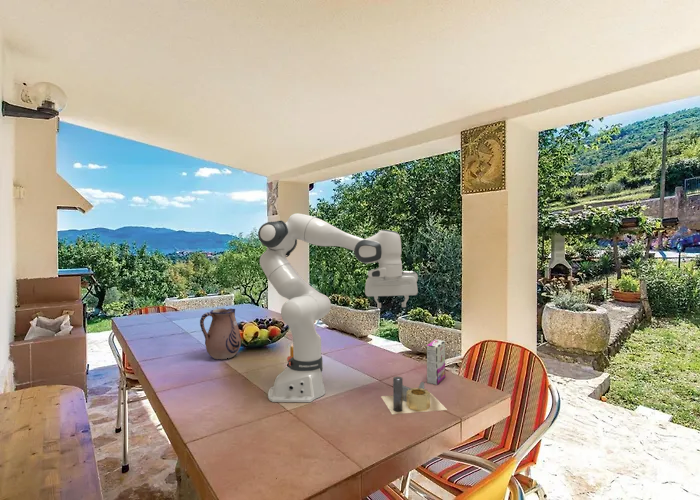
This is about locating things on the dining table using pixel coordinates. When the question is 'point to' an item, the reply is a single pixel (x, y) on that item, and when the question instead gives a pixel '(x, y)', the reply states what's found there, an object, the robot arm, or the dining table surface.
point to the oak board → (434, 406)
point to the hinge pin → (398, 394)
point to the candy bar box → (435, 362)
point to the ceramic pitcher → (221, 333)
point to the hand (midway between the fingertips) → (391, 307)
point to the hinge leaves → (417, 398)
